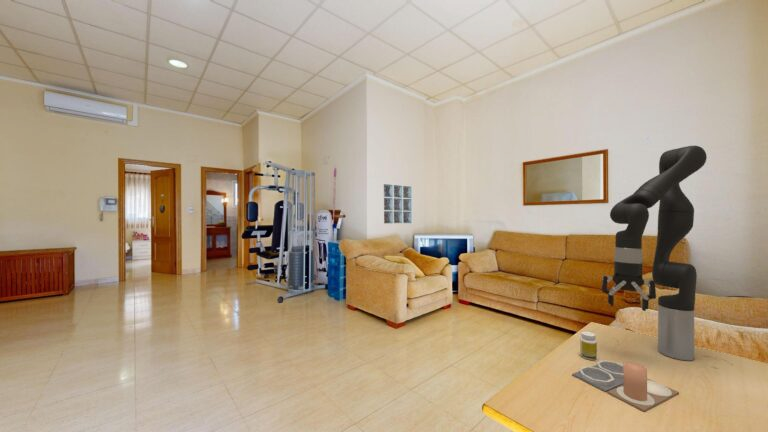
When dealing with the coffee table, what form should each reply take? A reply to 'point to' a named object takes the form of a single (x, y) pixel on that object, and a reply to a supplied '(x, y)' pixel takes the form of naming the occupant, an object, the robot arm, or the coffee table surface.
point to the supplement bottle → (588, 346)
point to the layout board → (626, 383)
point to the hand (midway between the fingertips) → (627, 308)
